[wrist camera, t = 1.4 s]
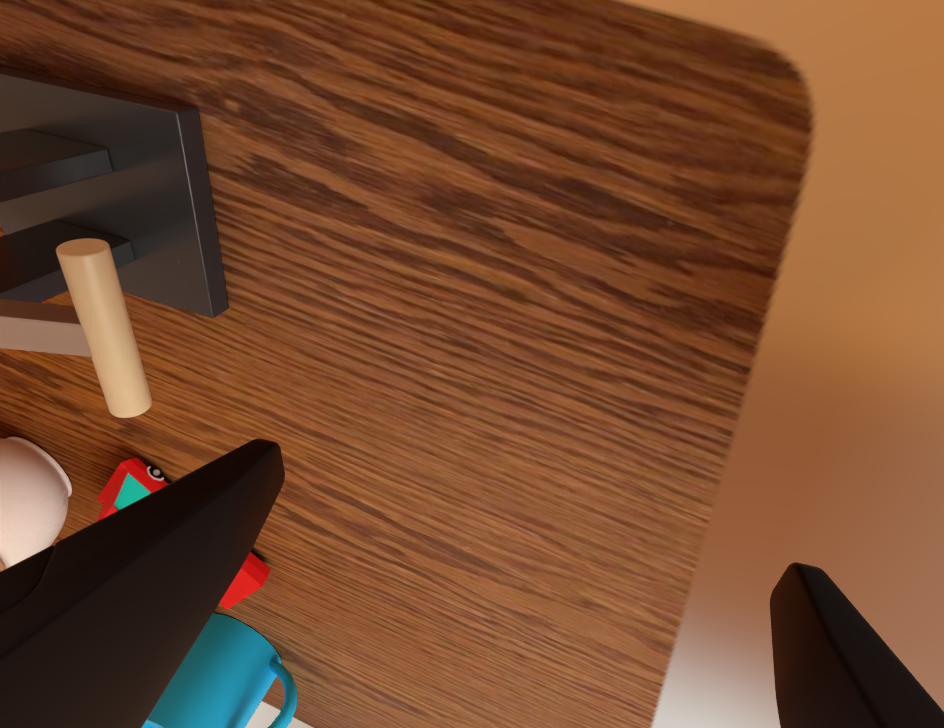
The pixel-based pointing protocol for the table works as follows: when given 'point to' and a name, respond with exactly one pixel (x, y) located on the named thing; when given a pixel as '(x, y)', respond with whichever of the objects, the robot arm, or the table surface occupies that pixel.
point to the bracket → (105, 191)
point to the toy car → (139, 482)
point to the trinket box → (29, 500)
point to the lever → (85, 325)
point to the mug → (223, 680)
